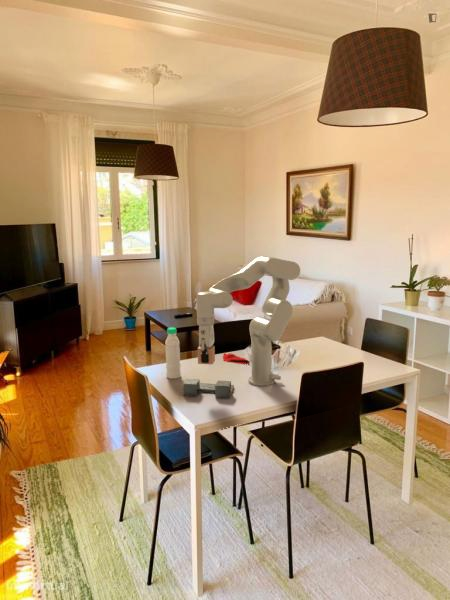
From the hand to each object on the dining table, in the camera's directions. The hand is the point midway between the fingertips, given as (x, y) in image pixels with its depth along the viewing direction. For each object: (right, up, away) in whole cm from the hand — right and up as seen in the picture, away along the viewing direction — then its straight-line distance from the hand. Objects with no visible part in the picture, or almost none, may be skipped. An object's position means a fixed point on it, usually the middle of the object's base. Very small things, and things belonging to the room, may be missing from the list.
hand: (206, 360), depth 200 cm
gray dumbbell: (+1, -15, +6) cm, 17 cm away
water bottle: (-17, -12, +27) cm, 34 cm away
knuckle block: (0, -1, 0) cm, 1 cm away
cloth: (+13, -7, +52) cm, 55 cm away
